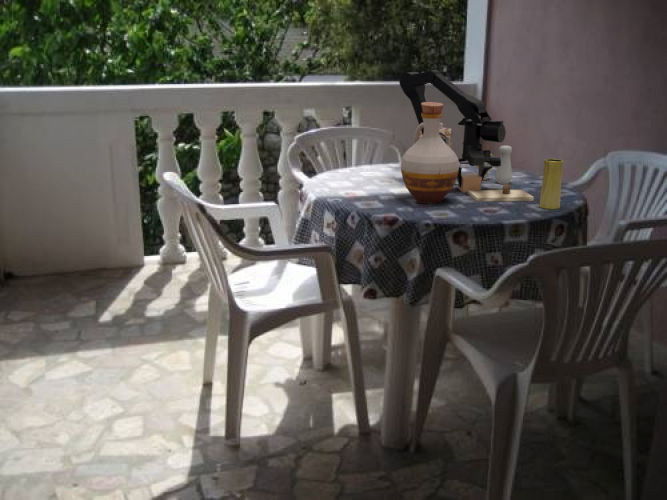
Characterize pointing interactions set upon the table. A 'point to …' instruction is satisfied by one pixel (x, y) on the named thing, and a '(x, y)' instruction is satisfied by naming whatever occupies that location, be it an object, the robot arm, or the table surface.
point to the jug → (429, 160)
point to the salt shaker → (504, 166)
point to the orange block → (470, 182)
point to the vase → (551, 184)
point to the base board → (500, 195)
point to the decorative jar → (443, 134)
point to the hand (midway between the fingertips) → (469, 186)
